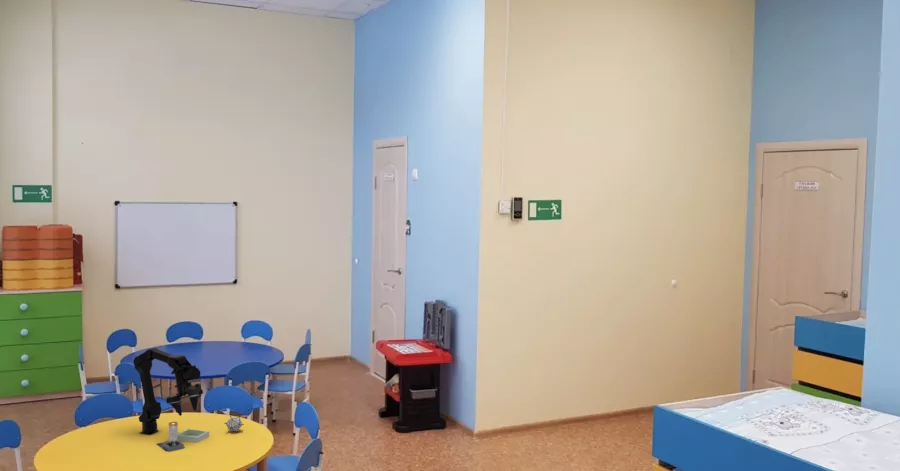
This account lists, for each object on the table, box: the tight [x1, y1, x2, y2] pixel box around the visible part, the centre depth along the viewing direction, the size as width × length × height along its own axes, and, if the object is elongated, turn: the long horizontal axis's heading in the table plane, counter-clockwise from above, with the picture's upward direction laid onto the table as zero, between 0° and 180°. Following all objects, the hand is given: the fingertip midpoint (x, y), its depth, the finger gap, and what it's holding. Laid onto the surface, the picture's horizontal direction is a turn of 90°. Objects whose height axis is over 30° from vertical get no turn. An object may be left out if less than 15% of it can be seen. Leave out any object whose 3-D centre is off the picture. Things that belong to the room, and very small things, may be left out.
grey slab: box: [155, 440, 186, 452], centre depth 362 cm, size 15×9×3 cm, turn 40°
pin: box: [168, 421, 179, 446], centre depth 358 cm, size 4×4×12 cm
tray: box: [178, 428, 210, 443], centre depth 373 cm, size 12×10×4 cm
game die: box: [224, 415, 244, 433], centre depth 387 cm, size 9×8×10 cm
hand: (188, 413), depth 372 cm, fingers open, 9 cm apart
